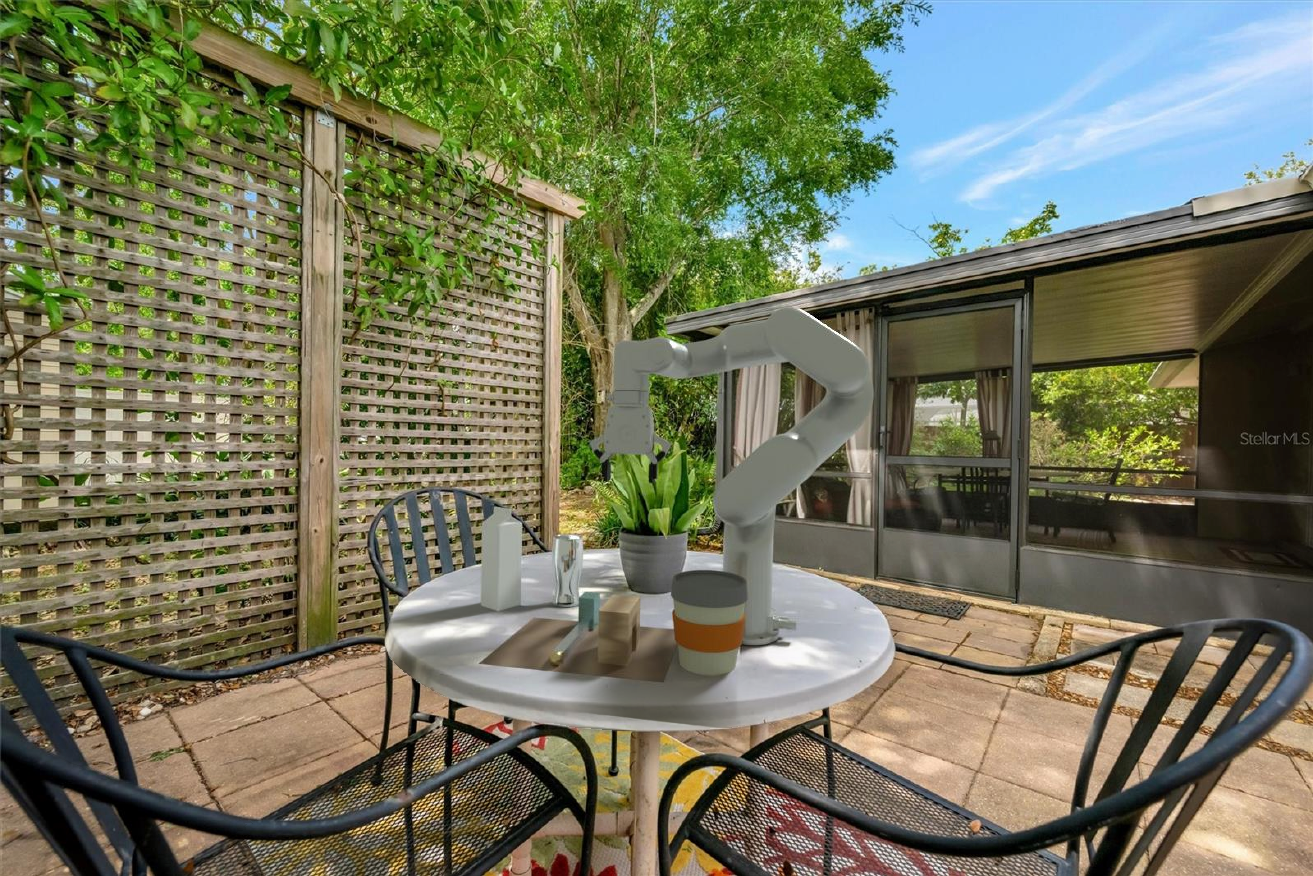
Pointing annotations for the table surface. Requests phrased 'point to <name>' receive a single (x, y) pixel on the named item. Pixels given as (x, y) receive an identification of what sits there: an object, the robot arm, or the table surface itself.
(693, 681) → the table surface
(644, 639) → the board
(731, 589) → the reusable coffee cup
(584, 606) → the hook rod
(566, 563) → the beer glass
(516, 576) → the milk
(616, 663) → the wooden toy block
